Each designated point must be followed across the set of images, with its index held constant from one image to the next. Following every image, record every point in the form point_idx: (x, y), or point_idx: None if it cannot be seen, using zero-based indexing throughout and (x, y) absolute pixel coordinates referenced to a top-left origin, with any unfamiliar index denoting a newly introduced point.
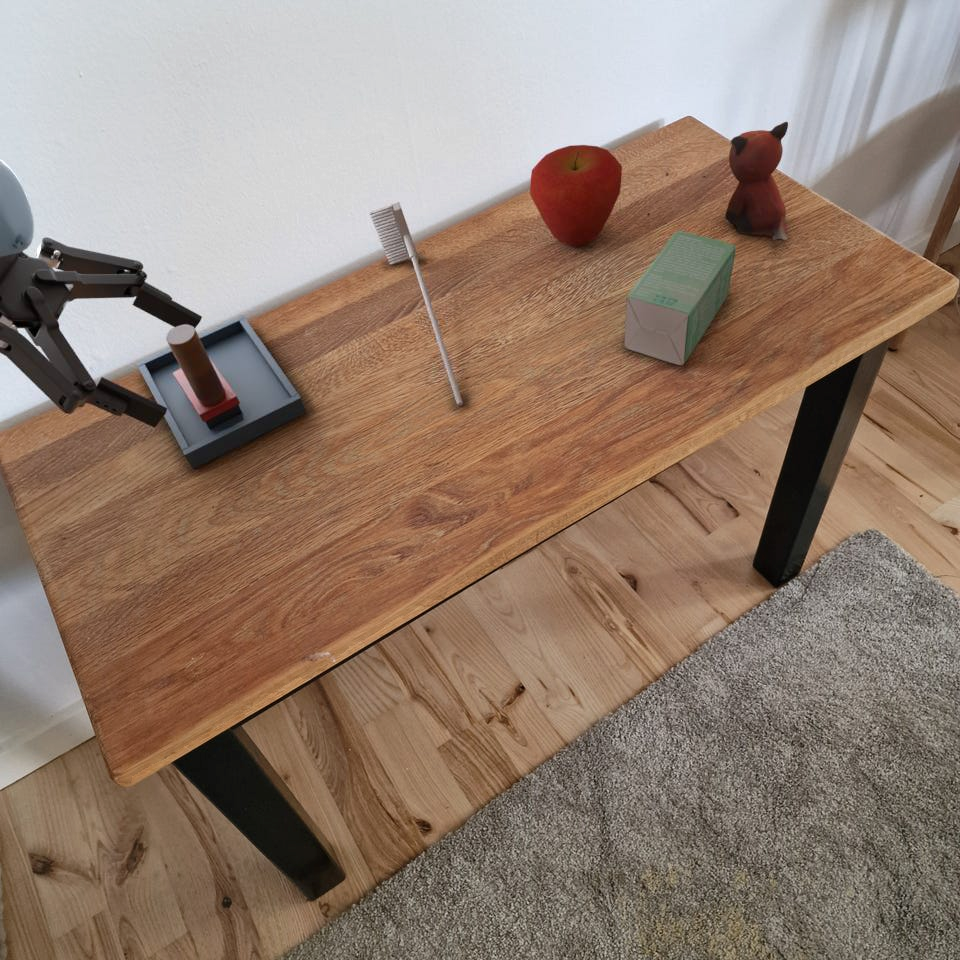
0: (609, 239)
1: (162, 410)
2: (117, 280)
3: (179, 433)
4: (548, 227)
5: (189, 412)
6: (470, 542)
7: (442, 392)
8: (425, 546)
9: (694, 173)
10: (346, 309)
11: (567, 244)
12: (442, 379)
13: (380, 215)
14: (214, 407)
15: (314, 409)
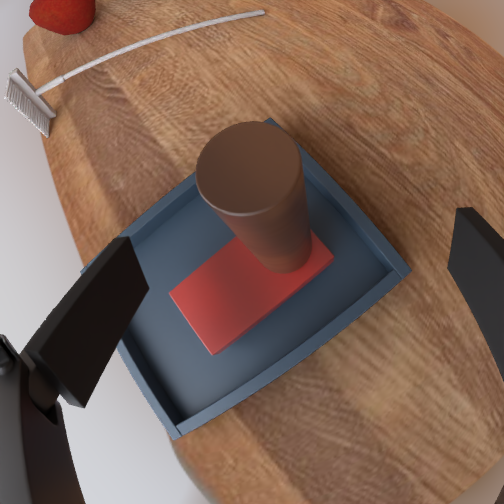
0: None
1: (472, 211)
2: (9, 425)
3: (362, 300)
4: (76, 20)
5: (285, 318)
6: (414, 3)
7: (244, 27)
8: (431, 23)
9: None
10: (92, 153)
11: (89, 23)
12: (225, 32)
13: (11, 92)
14: (313, 232)
15: None
